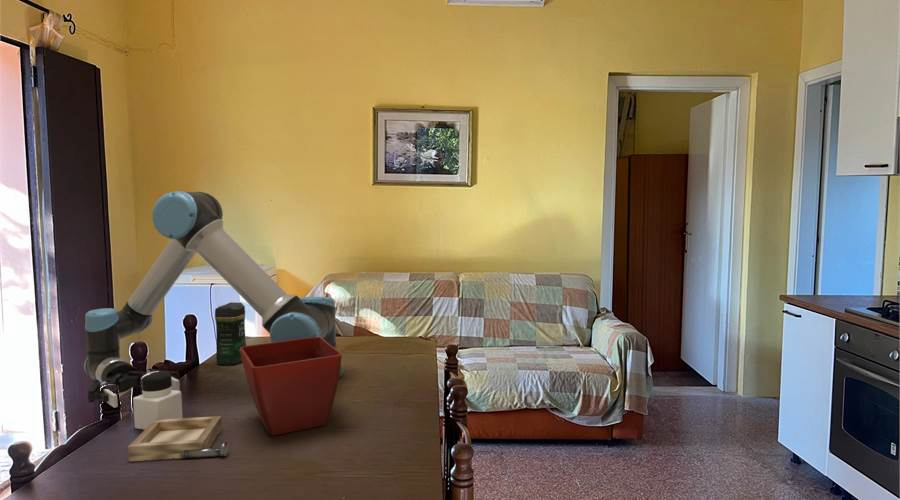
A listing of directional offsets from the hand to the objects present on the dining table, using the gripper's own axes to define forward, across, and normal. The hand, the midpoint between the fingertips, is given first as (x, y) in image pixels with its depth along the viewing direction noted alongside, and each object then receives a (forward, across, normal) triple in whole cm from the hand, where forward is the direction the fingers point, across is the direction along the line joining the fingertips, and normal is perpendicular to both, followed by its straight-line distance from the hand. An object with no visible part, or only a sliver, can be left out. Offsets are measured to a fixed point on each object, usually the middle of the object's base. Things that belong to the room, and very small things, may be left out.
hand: (147, 393), depth 135 cm
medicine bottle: (+4, 0, -7) cm, 8 cm away
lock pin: (+29, 0, -6) cm, 29 cm away
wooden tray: (+19, +1, -6) cm, 20 cm away
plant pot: (+26, -22, -7) cm, 34 cm away
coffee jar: (-32, -36, -7) cm, 49 cm away
